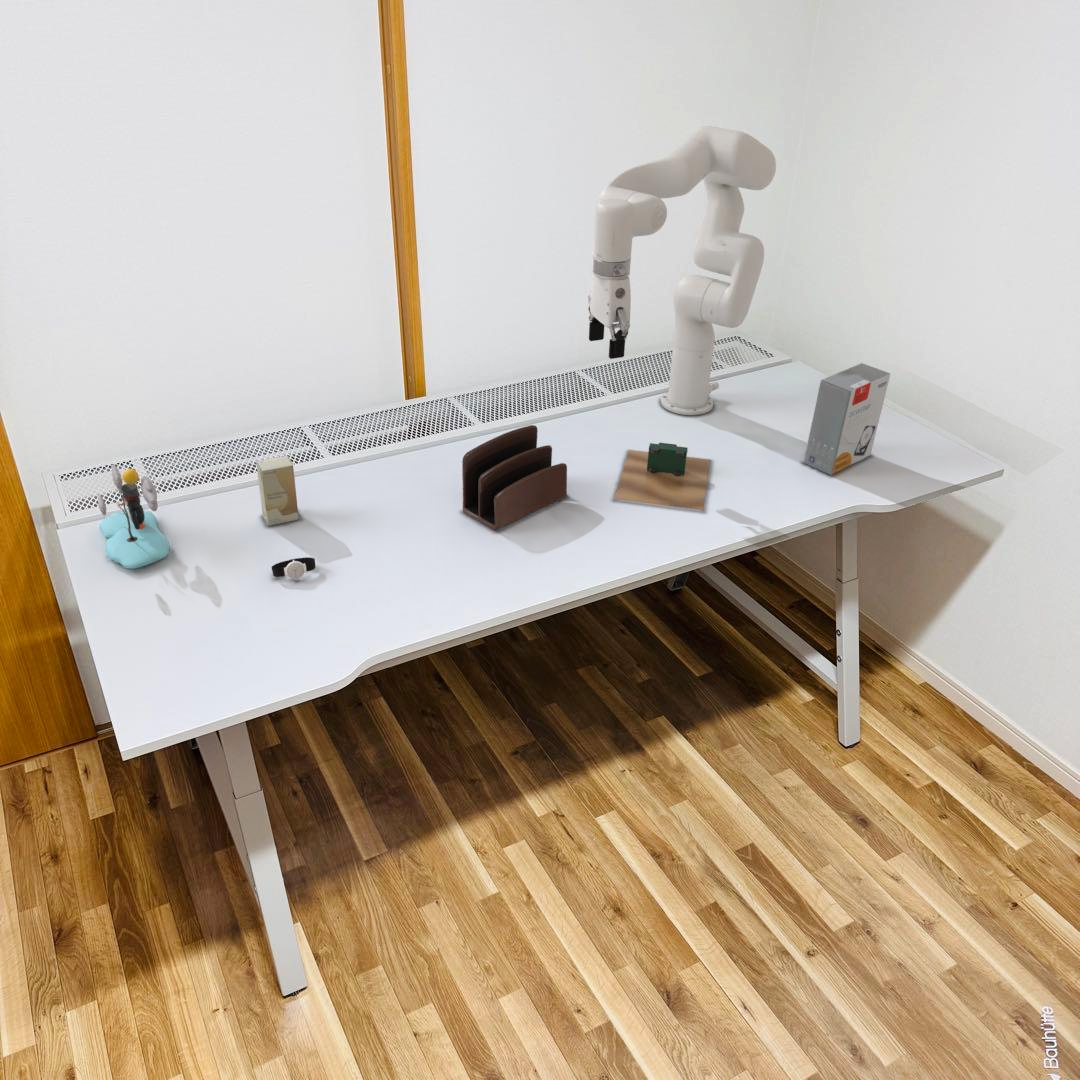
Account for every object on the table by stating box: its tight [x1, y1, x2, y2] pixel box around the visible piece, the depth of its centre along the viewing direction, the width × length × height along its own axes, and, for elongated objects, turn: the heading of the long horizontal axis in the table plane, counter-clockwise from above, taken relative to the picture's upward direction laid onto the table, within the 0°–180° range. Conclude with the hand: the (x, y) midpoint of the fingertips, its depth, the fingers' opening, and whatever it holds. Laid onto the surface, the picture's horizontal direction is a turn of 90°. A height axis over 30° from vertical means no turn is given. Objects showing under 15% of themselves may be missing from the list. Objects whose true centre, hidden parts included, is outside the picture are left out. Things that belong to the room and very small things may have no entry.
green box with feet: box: [647, 442, 689, 476], centre depth 210 cm, size 8×4×6 cm, turn 78°
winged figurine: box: [97, 463, 170, 570], centre depth 179 cm, size 20×11×15 cm, turn 28°
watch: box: [271, 556, 316, 580], centre depth 176 cm, size 8×5×4 cm, turn 114°
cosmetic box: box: [255, 455, 300, 526], centre depth 189 cm, size 6×4×12 cm
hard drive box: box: [803, 362, 891, 476], centre depth 213 cm, size 16×8×20 cm, turn 131°
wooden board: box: [613, 449, 711, 512], centre depth 208 cm, size 22×18×1 cm
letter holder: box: [461, 424, 568, 531], centre depth 195 cm, size 10×20×14 cm, turn 134°
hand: (606, 348), depth 202 cm, fingers open, 9 cm apart
